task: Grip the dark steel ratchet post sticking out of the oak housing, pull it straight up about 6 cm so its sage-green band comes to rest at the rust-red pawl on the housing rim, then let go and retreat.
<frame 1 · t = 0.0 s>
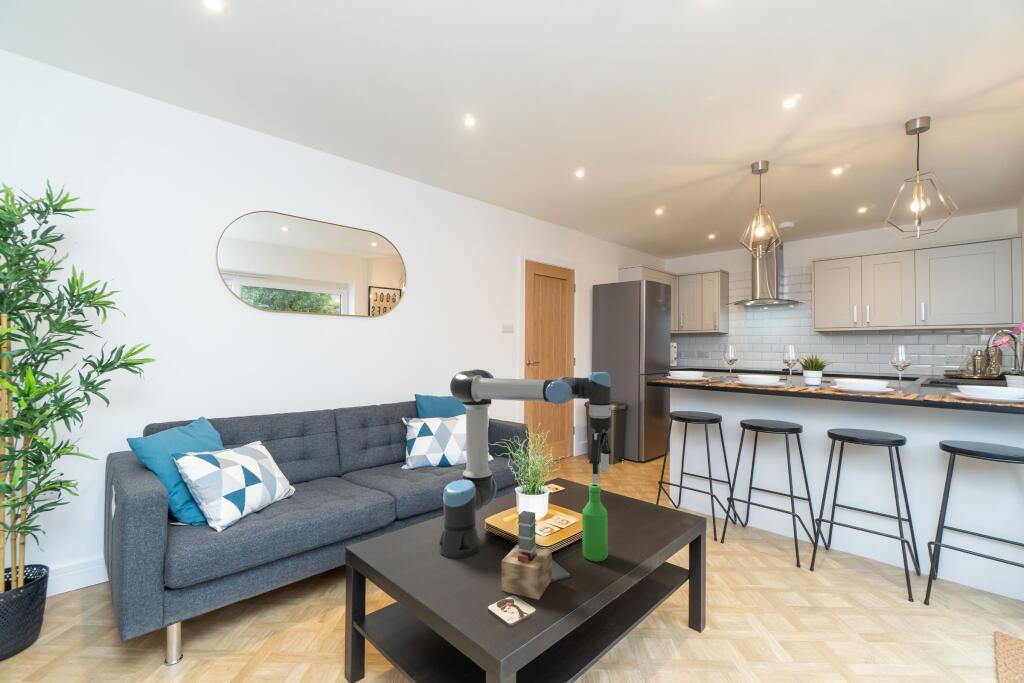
hand: (600, 477, 154), 28 cm above the table, fingers open, 13 cm apart
column: (527, 549, 137), point 11 cm above the table, slide at 0.0 cm
housing: (527, 585, 137), on the table
bottle: (595, 557, 155), on the table
smartphone: (549, 570, 147), on the table
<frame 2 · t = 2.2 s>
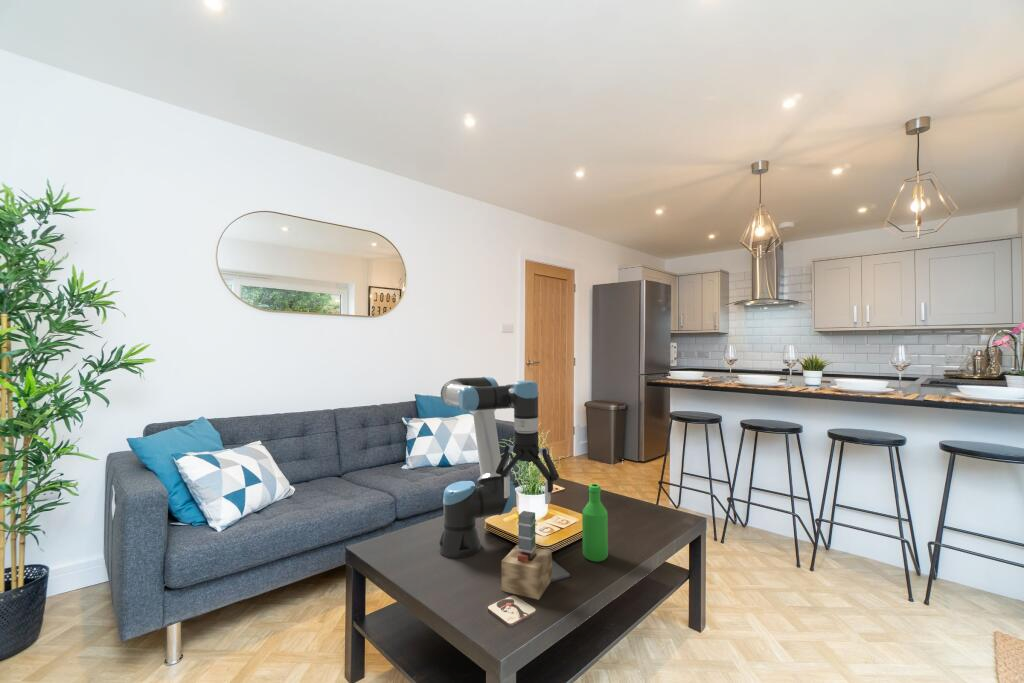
hand: (527, 499, 137), 26 cm above the table, fingers open, 13 cm apart
nothing on the table moved.
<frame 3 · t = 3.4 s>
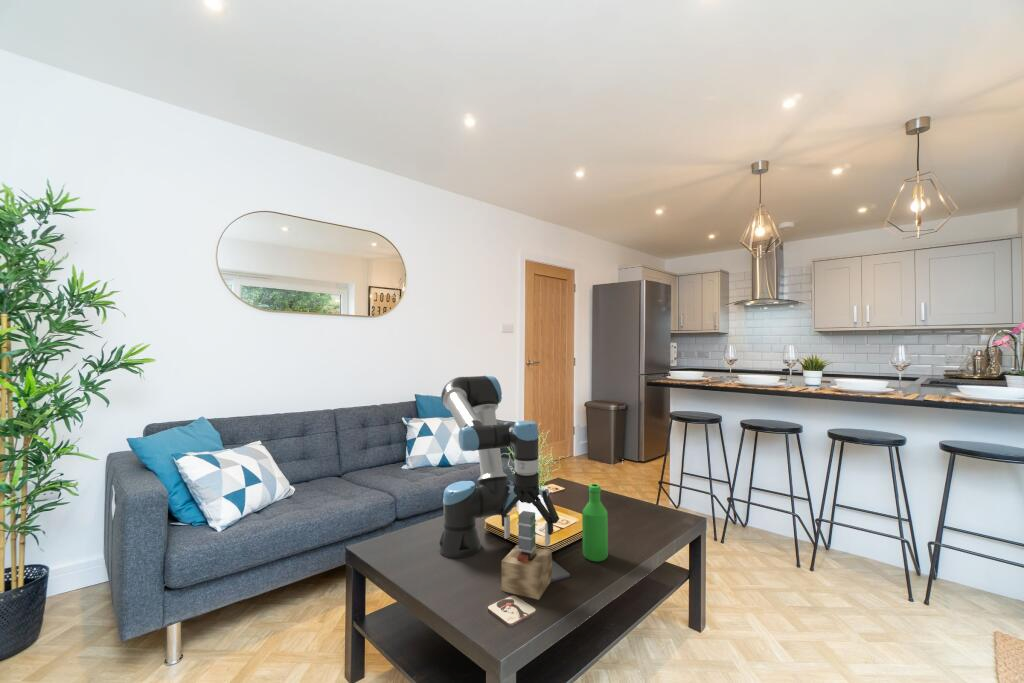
hand: (527, 540, 137), 14 cm above the table, fingers open, 13 cm apart
nothing on the table moved.
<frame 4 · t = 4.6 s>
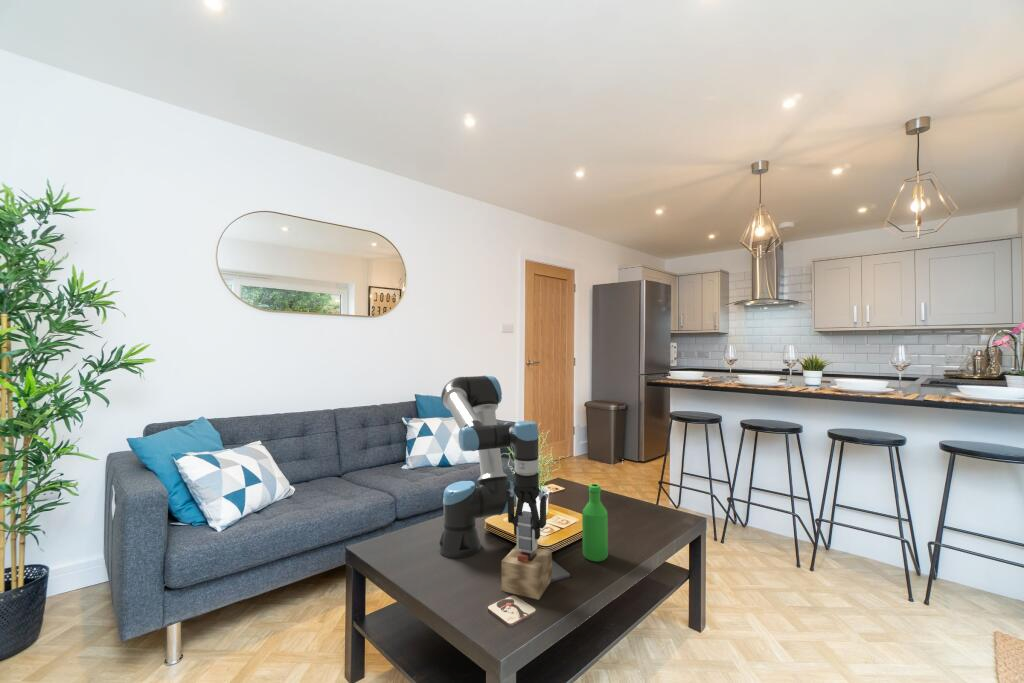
hand: (527, 547, 137), 12 cm above the table, fingers closed on column, 4 cm apart
column: (527, 549, 137), point 11 cm above the table, slide at 0.0 cm, touching gripper
everything else where it was.
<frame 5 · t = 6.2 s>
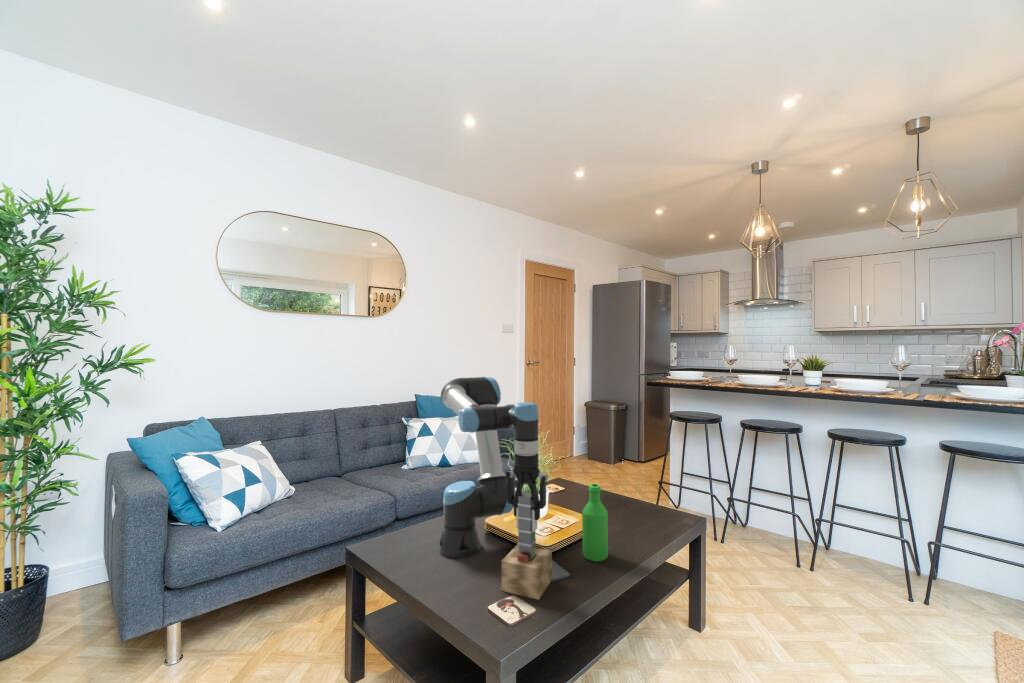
hand: (526, 528, 137), 18 cm above the table, fingers closed on column, 4 cm apart
column: (526, 530, 137), point 17 cm above the table, slide at 5.9 cm, touching gripper
everything else where it was.
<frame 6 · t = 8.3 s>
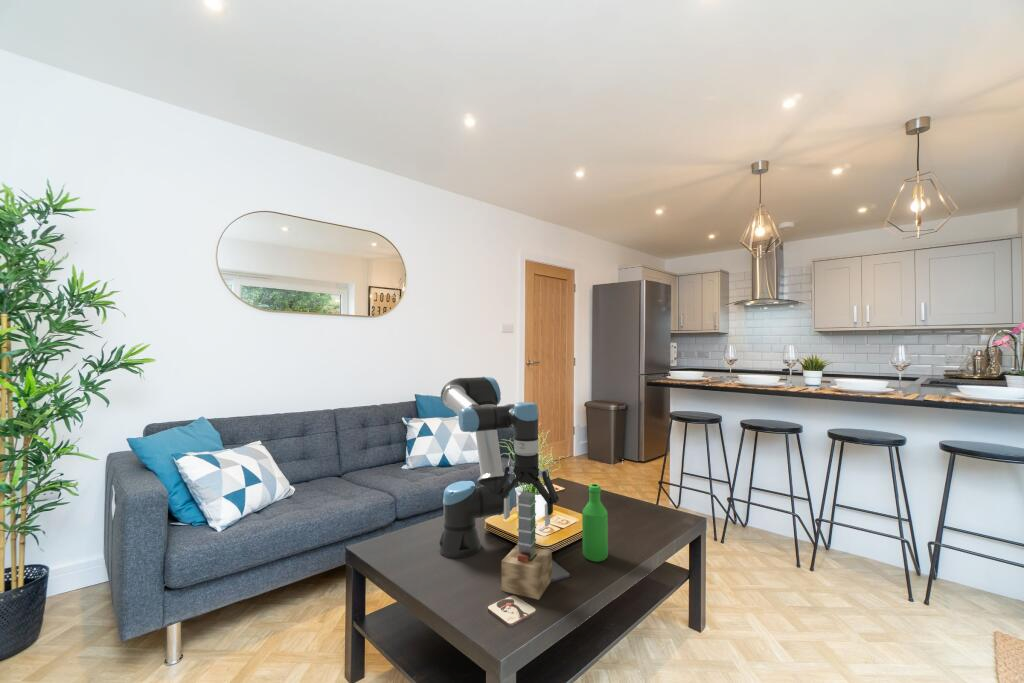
hand: (526, 521, 137), 20 cm above the table, fingers open, 13 cm apart
column: (526, 530, 137), point 17 cm above the table, slide at 6.0 cm
everything else where it was.
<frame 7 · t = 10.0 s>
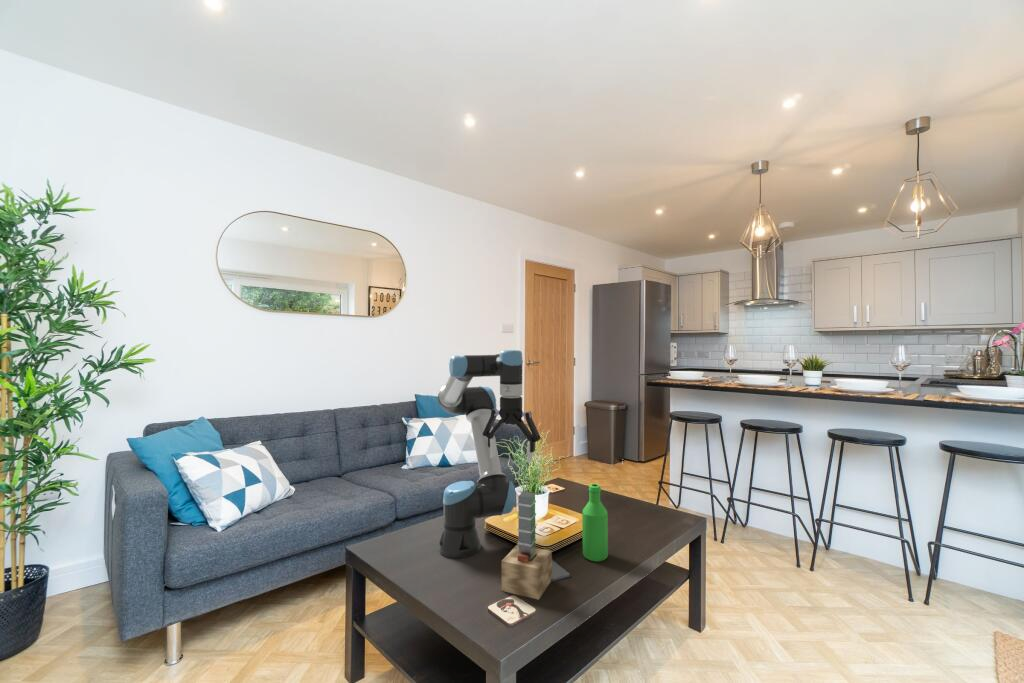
hand: (511, 459, 148), 36 cm above the table, fingers open, 13 cm apart
nothing on the table moved.
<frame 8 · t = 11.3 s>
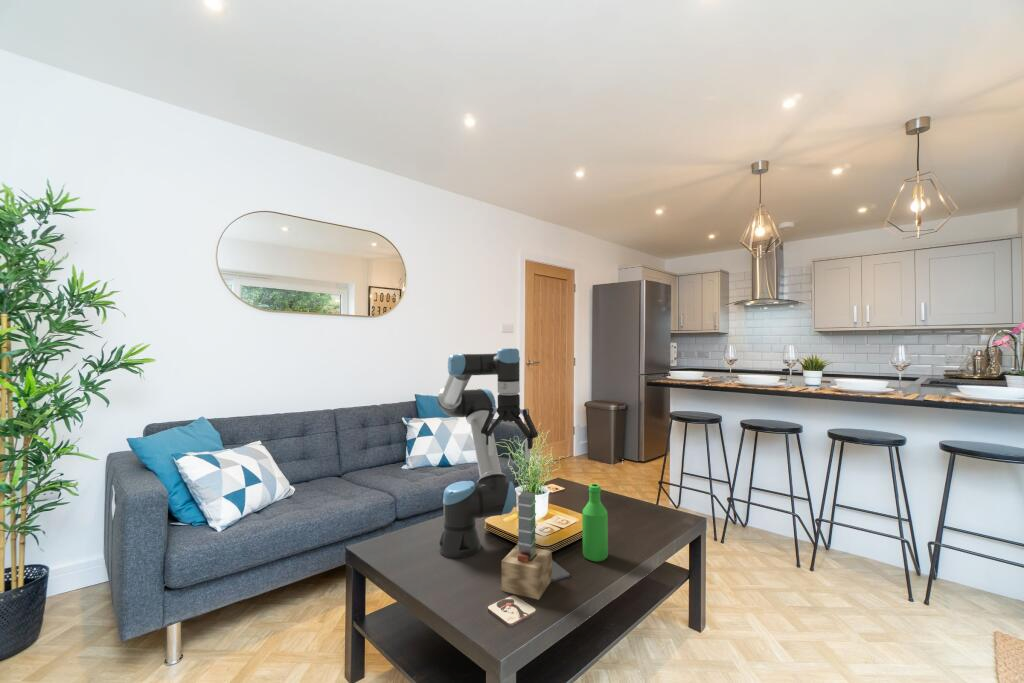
hand: (509, 456, 149), 37 cm above the table, fingers open, 13 cm apart
nothing on the table moved.
at the end: column slide at 6.0 cm; the gripper is holding nothing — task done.
